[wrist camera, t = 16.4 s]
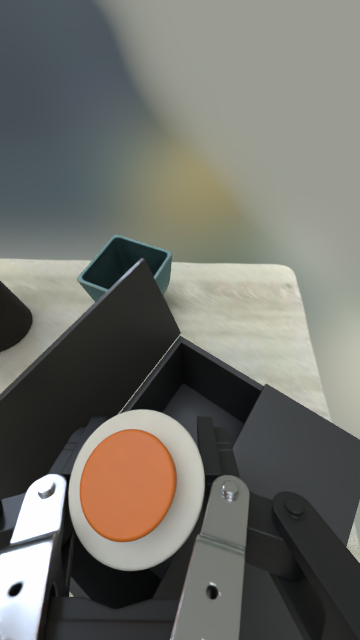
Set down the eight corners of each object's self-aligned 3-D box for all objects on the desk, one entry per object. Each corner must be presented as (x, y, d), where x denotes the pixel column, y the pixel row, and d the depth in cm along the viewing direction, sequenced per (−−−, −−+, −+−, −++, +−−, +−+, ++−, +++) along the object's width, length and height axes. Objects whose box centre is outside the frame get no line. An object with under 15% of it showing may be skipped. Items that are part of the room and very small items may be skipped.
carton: (225, 651, 21) (267, 839, 10) (87, 513, 26) (16, 540, 15) (302, 458, 28) (375, 448, 17) (182, 378, 33) (180, 331, 22)
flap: (-134, 531, 10) (-135, 524, 10) (18, 541, 15) (16, 536, 15) (145, 258, 17) (140, 257, 17) (181, 332, 22) (177, 331, 22)
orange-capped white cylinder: (166, 543, 14) (137, 654, 5) (107, 487, 15) (7, 503, 7) (209, 467, 16) (239, 458, 7) (153, 422, 17) (121, 371, 9)
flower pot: (96, 318, 38) (74, 279, 31) (127, 276, 42) (114, 232, 35) (148, 340, 36) (138, 304, 28) (176, 294, 40) (173, 251, 32)
